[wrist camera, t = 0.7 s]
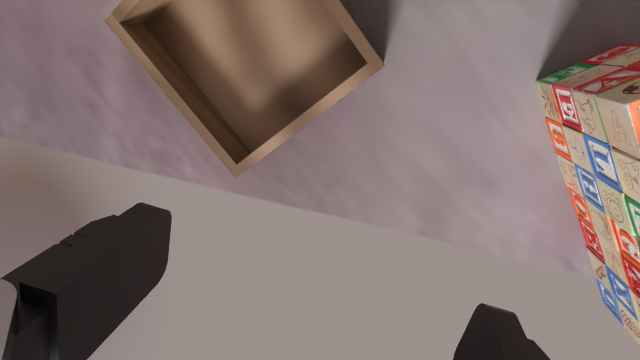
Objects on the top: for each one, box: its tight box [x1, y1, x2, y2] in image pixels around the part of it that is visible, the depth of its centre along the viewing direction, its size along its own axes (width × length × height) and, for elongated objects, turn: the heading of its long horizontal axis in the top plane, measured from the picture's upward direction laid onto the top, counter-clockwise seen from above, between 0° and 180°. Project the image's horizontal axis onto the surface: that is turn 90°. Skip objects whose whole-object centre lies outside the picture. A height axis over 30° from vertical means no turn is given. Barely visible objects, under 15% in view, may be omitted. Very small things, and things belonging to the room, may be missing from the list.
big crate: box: [104, 0, 384, 178], centre depth 29 cm, size 14×15×4 cm
